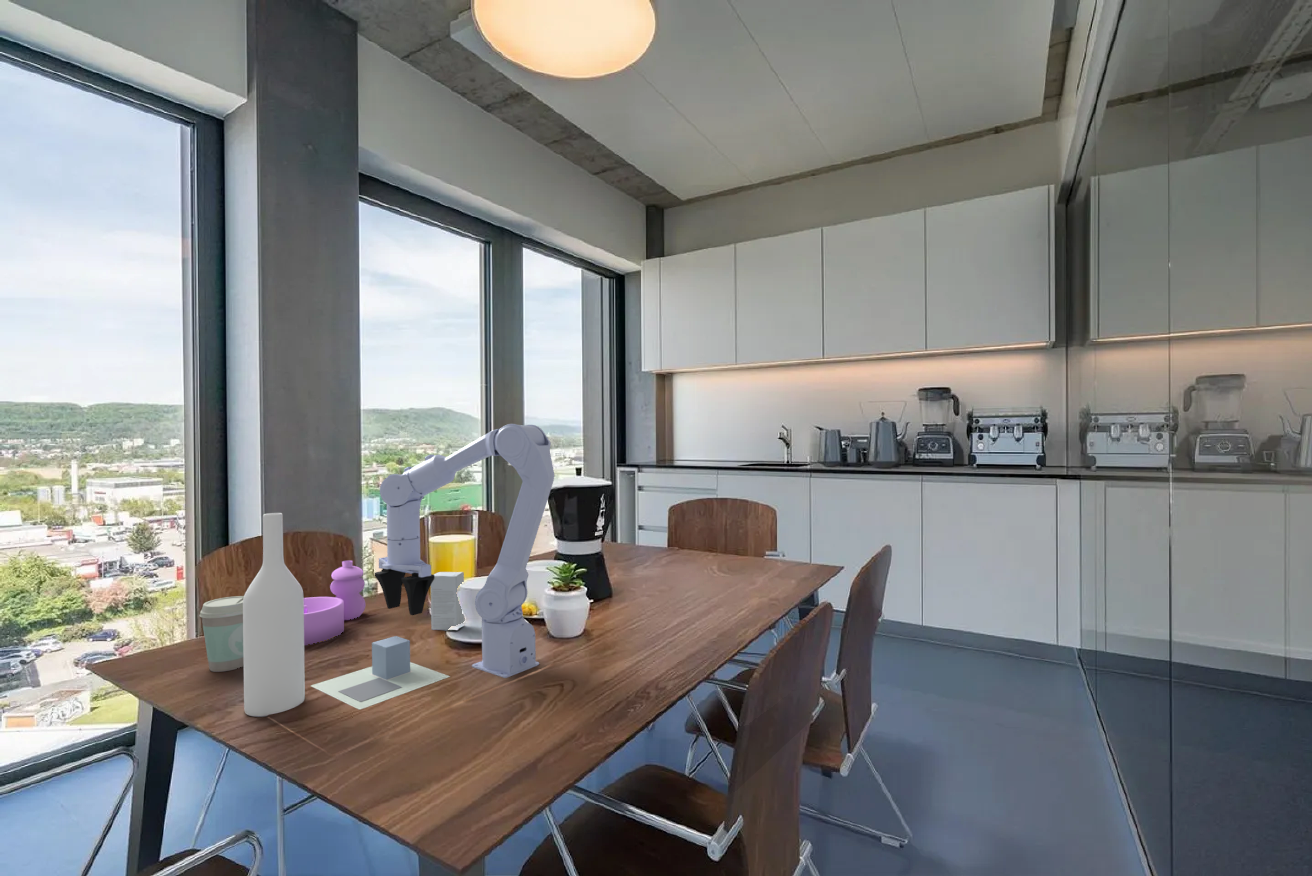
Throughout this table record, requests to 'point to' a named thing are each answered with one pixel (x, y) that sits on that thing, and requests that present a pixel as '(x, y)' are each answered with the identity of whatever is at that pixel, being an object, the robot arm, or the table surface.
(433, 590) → the skincare box
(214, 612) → the coffee cup
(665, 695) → the table surface
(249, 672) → the bottle
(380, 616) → the table surface
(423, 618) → the table surface
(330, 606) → the container set
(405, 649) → the blue-grey rectangular block
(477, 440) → the robot arm
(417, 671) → the mat
